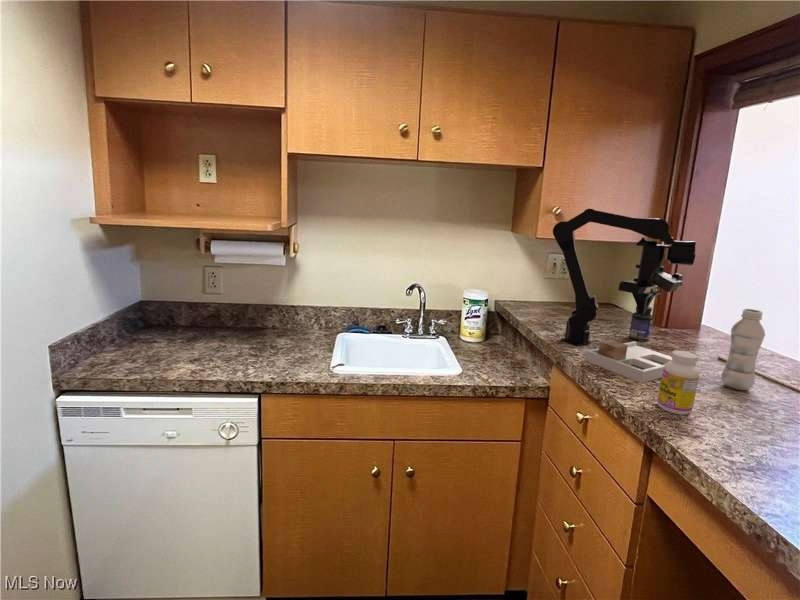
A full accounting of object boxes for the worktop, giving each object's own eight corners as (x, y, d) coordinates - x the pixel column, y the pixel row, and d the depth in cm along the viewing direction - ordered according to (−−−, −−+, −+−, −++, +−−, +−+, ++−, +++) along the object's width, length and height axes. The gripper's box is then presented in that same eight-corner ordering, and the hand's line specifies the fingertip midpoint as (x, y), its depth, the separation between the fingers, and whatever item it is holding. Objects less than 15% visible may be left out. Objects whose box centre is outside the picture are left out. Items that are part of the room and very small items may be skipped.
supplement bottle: (650, 401, 101) (660, 348, 98) (677, 402, 102) (688, 348, 99) (669, 416, 94) (681, 359, 92) (698, 416, 95) (711, 359, 92)
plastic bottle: (754, 396, 107) (773, 315, 102) (719, 388, 110) (737, 310, 106) (750, 387, 112) (768, 310, 108) (718, 380, 116) (734, 306, 111)
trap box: (584, 360, 126) (586, 350, 125) (632, 350, 137) (634, 341, 136) (641, 383, 112) (643, 371, 111) (689, 369, 122) (692, 359, 122)
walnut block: (598, 355, 125) (600, 341, 124) (609, 353, 127) (611, 339, 126) (614, 361, 120) (616, 347, 120) (625, 358, 123) (627, 345, 122)
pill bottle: (651, 342, 146) (657, 310, 143) (631, 340, 147) (637, 308, 144) (645, 337, 152) (651, 305, 149) (626, 335, 153) (631, 304, 150)
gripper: (659, 267, 118) (649, 323, 122) (697, 265, 127) (687, 317, 131) (621, 261, 128) (612, 314, 131) (659, 259, 137) (650, 308, 140)
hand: (641, 313), depth 133 cm, fingers closed
